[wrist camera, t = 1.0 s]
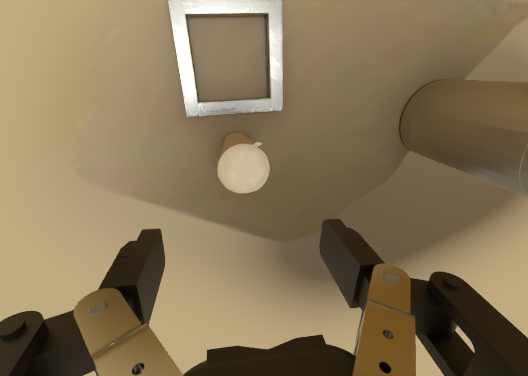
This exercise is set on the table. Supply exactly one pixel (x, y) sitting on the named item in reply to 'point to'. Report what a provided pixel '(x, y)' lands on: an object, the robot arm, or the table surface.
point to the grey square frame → (228, 5)
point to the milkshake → (242, 164)
